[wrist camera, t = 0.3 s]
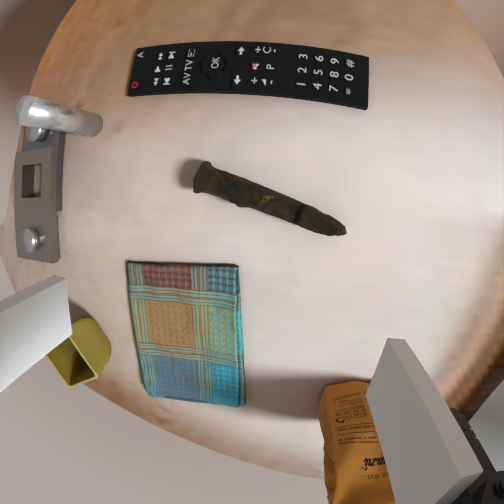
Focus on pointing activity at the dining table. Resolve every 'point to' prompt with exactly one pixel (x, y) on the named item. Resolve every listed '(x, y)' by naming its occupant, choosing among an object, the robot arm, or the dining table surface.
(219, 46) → the remote control
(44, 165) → the grey block with knob
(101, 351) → the flower pot
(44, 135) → the lower chain end
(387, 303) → the dining table surface
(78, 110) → the steel pin
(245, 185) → the hand tool
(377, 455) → the coffee package
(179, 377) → the dish towel
